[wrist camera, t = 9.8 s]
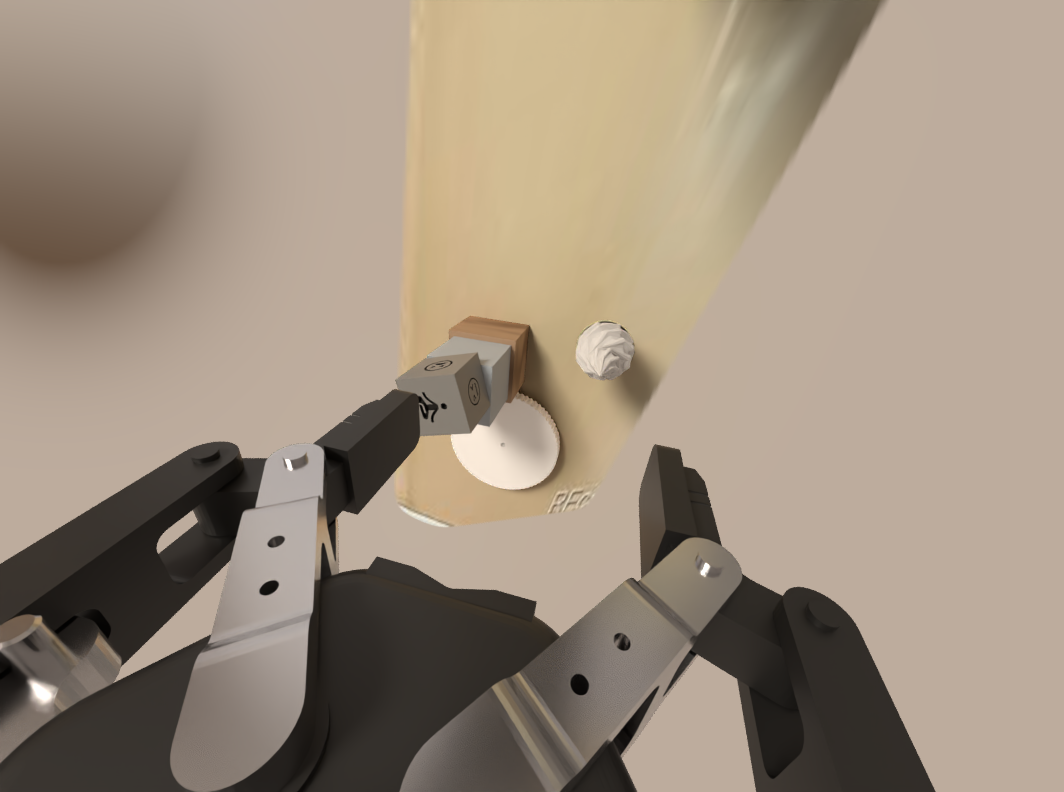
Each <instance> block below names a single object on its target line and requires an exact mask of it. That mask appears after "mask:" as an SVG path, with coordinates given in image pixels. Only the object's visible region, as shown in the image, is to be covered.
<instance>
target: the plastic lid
mask: <svg viewBox="0 0 1064 792" xmlns="http://www.w3.org/2000/svg"><path fill="white" fill-rule="evenodd" d="M553 421H554V420H553V419H551V416H550V415H548V412H547V411H545V408H544V407H543V408H542V407H541V405H540V404H537V401H533V399H532V398H528V396H524V394H519V392H518V393H517V394H516V396H515V397H514V399H513V401H512V402H511V403H506V402H505V404H504V405H503V407H502V408H501V410H500V411H499V413H498V415H497V416H496V418H495V419H494V421H493V422H492V424H491V425H490V427H488V426H483V425H478V424H477V426H476V427H475V428H474V430H473V431H472V433H471V434H452V436H451V439H452V441H451V443H453V445H452V447H454V449H453V450H454V451H455V452H456V453H455V454H456V455H457V458H458V459H459V460H460V462H461V463H462V465H463V466H465V469H468V472H469V473H470V472H471V473H472V475H474V476H475V477H476V478H479V480H480V481H481V480H482V481H483V482H484V483H487V484H488V485H492V486H493V487H494V486H496V487H497V488H498V487H500V488H501V489H503V488H505V489H510V490H512V489H514V490H516V489H519V490H520V489H521V488H522V489H525V488H529V486H531V487H533V485H537V483H540V482H541V481H543V480H544V478H545V479H546V478H547V475H548V476H549V475H550V472H552V469H554V466H555V464H556V462H557V458H558V455H559V450H560V449H559V448H560V445H559V444H560V440H559V438H560V437H559V436H558V435H559V432H557V427H555V426H556V424H555V423H553Z"/></svg>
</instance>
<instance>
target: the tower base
mask: <svg viewBox="0 0 1064 792" xmlns="http://www.w3.org/2000/svg"><path fill="white" fill-rule="evenodd" d="M528 334H529V325H525V324H519V323H512V322H506V321H499V320H493V319H487V318H480V317H474V316H469V317H468V318H466V319H465V320H463V321H462V322H460V323H459V324H457V325H456V326H454V327H453V328H451V329H449V339H451V338H452V337H454V336H456V337H463V338H469V339H475V340H481V341H488V342H494V343H500V344H506V345H511V354H510V369H509V384H508V398H507V400H506V403H511V402H512V401H513V399H514V397H515V396H516V394H517V393H518V391H519V389H520V388H521V386H522V384H523V383H524V377H525V366H526V355H527V344H528Z"/></svg>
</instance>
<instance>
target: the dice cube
mask: <svg viewBox="0 0 1064 792" xmlns="http://www.w3.org/2000/svg"><path fill="white" fill-rule="evenodd" d="M395 381H396V384H397V387H398V390H402V391H406V392H411V393H415V394H417V396H418V399H419V416H420V436H433V435H452V434H471V433H472V431H473V430H474V428H475V427H476V426H477V424H478V423H479V421H480V420H481V418H482V417H483V416H484V414H485V413H486V411H487V410H488V409H489V407H490V406H491V404H490V400H489V396H488V392H487V388H486V384H485V380H484V376H483V372H482V368H481V363H480V359H479V355H478V352H475V353H467V354H458V355H449V356H440V357H432V358H425V359H424V360H422V361H421V362H420V363H418V364H417V365H415V366H414V367H413V368H411V369H410V370H408V371H407V372H406V373H404V374H403V375H401V376H400V377H399V378H397V379H396V380H395Z"/></svg>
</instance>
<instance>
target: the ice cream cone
mask: <svg viewBox="0 0 1064 792" xmlns="http://www.w3.org/2000/svg"><path fill="white" fill-rule="evenodd" d="M633 355H634V341H633V338H632V336H631V334H630V332H629V331H628V330H627V329H626V328H625V327H624V326H623V325H621V324H619V323H617V322H614V321H609V320H601V321H597V322H594V323H592V324H590V325H588V326H587V327H586V328H585V329H584V330H583V331H582V332H581V333H580V335H579V337H578V340H577V345H576V361H577V363H578V364H579V366H580V367H581V368H582V370H583V371H584V372H585V373H586V374H588V376H589V377H591V378H595V379H598V380H605V379H608V380H613V379H614V378H616V377H618V376H620V375H621V374H622V373H623V372H624V371H626V370H627V369H629V368H630V362H631V360H632V358H633Z"/></svg>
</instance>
